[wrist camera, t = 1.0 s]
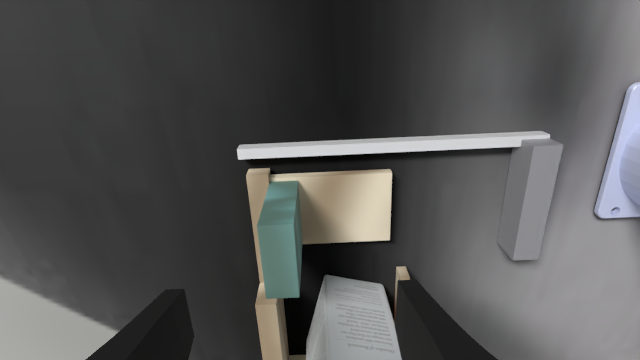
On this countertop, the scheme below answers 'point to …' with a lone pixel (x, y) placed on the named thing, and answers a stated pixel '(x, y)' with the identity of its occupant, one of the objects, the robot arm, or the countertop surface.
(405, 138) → the rail
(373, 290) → the skincare box
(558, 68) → the countertop surface
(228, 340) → the countertop surface
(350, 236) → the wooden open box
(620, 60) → the countertop surface
